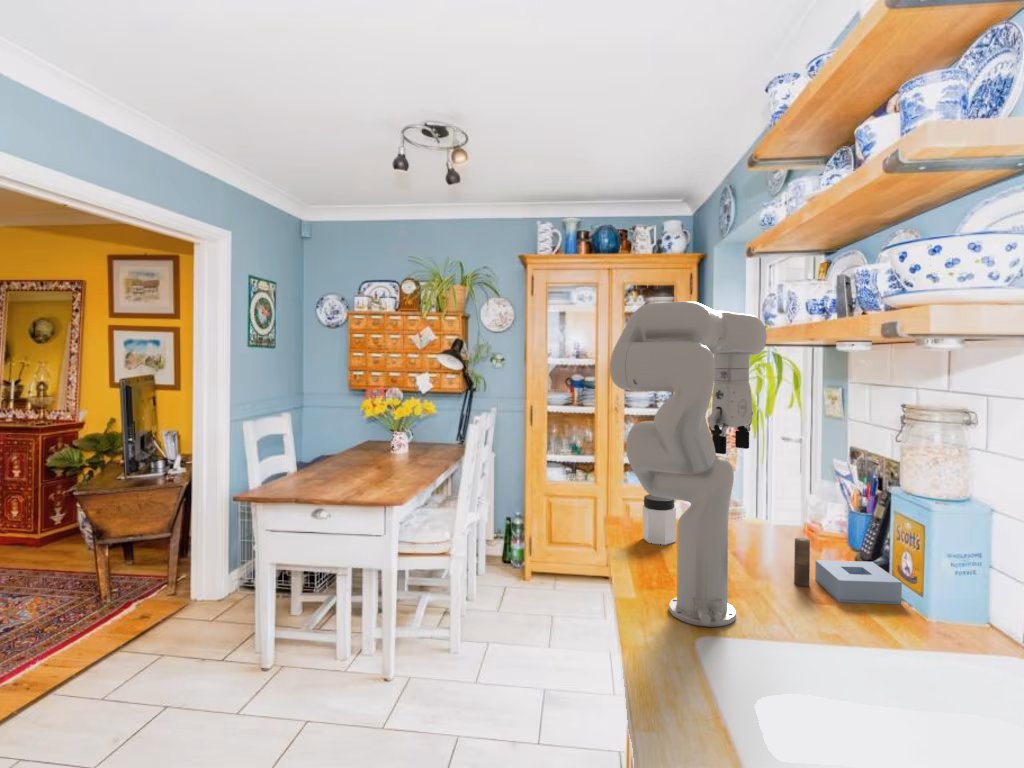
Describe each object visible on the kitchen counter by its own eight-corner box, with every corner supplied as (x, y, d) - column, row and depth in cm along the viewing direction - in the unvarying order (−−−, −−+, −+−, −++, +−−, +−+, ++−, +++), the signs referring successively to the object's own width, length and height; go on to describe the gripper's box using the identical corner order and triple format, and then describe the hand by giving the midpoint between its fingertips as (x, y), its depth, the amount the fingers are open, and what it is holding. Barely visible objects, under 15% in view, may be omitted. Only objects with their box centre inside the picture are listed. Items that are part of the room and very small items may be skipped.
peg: (811, 587, 127) (812, 542, 127) (797, 586, 128) (797, 541, 127) (806, 581, 130) (806, 537, 130) (792, 581, 131) (792, 537, 130)
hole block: (901, 604, 118) (901, 582, 118) (838, 601, 120) (839, 580, 119) (871, 581, 130) (872, 561, 130) (815, 579, 131) (815, 560, 131)
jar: (657, 533, 167) (657, 492, 166) (681, 540, 160) (681, 497, 160) (636, 539, 161) (636, 496, 161) (660, 547, 155) (660, 502, 154)
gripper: (725, 378, 124) (725, 457, 125) (766, 375, 135) (765, 448, 136) (694, 377, 130) (694, 453, 131) (736, 374, 141) (735, 444, 142)
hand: (730, 450), depth 134 cm, fingers open, 9 cm apart
